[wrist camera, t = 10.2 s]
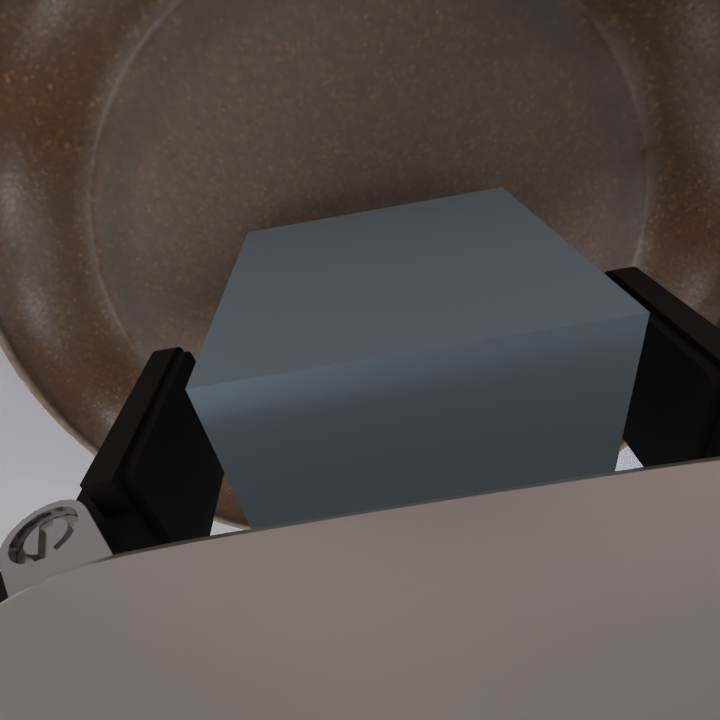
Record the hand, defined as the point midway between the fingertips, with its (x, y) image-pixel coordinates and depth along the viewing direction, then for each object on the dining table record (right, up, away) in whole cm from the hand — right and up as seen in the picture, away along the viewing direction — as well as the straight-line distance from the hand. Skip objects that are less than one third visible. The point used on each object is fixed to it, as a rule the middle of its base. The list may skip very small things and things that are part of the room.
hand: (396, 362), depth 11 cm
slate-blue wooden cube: (0, +1, +2) cm, 2 cm away
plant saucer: (0, +3, +5) cm, 5 cm away
